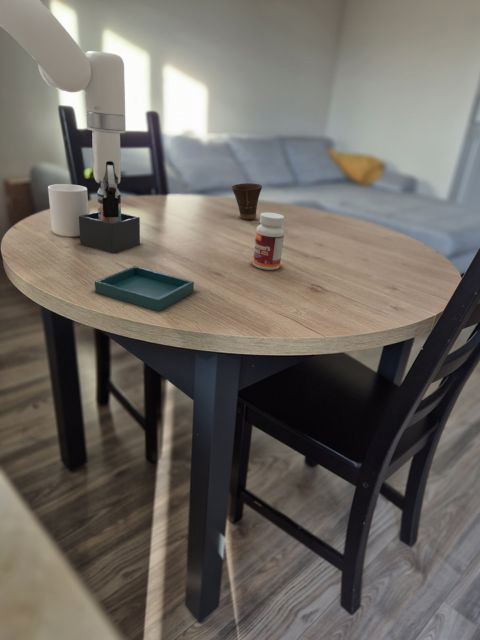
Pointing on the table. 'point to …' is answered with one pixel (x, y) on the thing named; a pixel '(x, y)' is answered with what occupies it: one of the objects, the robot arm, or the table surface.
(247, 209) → the cup
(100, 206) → the beer can
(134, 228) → the bin
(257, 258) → the pill bottle
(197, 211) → the table surface
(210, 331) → the table surface
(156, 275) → the tray
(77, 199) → the mug
